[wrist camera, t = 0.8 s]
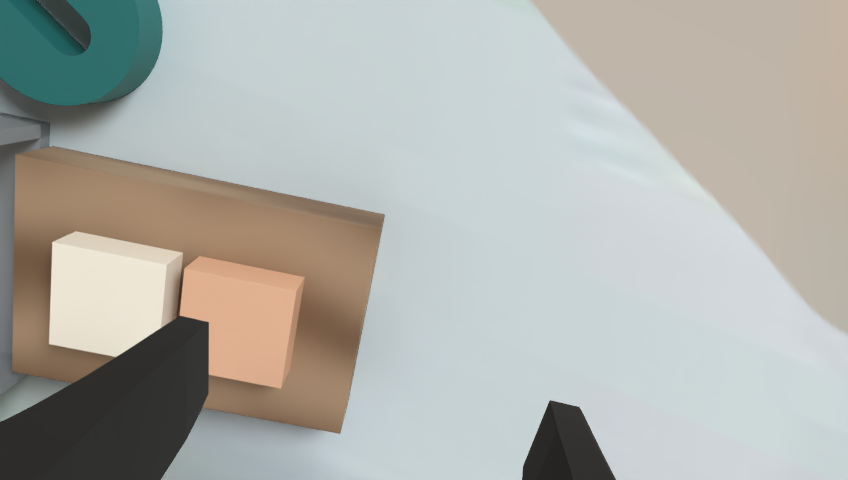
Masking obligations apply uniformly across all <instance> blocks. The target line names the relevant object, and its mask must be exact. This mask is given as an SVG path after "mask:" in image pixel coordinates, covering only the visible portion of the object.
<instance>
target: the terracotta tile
mask: <svg viewBox="0 0 848 480" xmlns="http://www.w3.org/2000/svg"><path fill="white" fill-rule="evenodd" d="M304 279H305V277H301V276H296V275H291V274H287V273H282V272H277V271H272V270H267V269H262V268H257V267H252V266H247V265H242V264H237V263H232V262H227V261H222V260H217V259H212V258H207V257H202V256H199V257H198V258H197V259H195V260H194V261H193V262H192V263H190V264H189V265H188V266H187V267H185V268H184V277H183V287H182V297H181V307H180V316H184V317H188V318H193V319H197V320H202V321H206V322H209V375H213V376H218V377H223V378H228V379H233V380H239V381H244V382H249V383H254V384H259V385H265V386H270V387H275V388H280V389H281V387H282V385H283V383H284V381H285V379H286V377H287V375H288V373H289V370H290V365H291V359H292V353H293V347H294V341H295V334H296V328H297V322H298V316H299V310H300V304H301V297H302V291H303V285H304Z"/></svg>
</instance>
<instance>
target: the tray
mask: <svg viewBox="0 0 848 480" xmlns="http://www.w3.org/2000/svg"><path fill="white" fill-rule="evenodd" d="M49 125H50V123H47V122H42V121H38V120H33V119H28V118H23V117H18V116H14V115H9V114H4V113H0V395H2V394H3V393H4V392H5V391H7V390H8V389H9V388H11V387H12V386H13V385H15V384H16V383H17V382H19V381H20V380H21V379H23V378H24V377H25V376H27V375H28V374H23V373H18V372H12V355H13V286H14V217H15V154H19V153H24V152H29V151H33V150H38V149H43V148H48V147H49Z"/></svg>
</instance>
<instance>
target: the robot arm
mask: <svg viewBox="0 0 848 480" xmlns="http://www.w3.org/2000/svg"><path fill="white" fill-rule="evenodd" d="M208 394H209V322H206V321H202V320H197V319H193V318H188V317H184V316H179V317H177V318H176V319H174V320H173V321H171V322H169V323H168V324H166V325H165V326H163V327H162V328H160V329H159V330H157V331H155V332H154V333H152V334H151V335H149V336H148V337H146V338H145V339H143V340H142V341H140V342H139V343H137V344H136V345H134V346H132V347H131V348H129V349H128V350H126V351H125V352H123V353H122V354H120V355H118V356H117V357H115V358H114V359H112V360H110V361H109V362H107V363H106V364H104V365H102V366H101V367H99V368H97V369H96V370H94V371H93V372H91V373H89V374H88V375H86V376H84V377H83V378H81V379H79V380H78V381H76V382H74V383H73V384H71V385H69V386H67V387H65V388H64V389H62V390H60V391H58V392H57V393H55V394H53V395H51V396H50V397H48V398H46V399H44V400H42V401H41V402H39V403H37V404H35V405H33V406H31V407H30V408H28V409H26V410H24V411H22V412H20V413H18V414H16V415H14V416H12V417H10V418H8V419H6V420H4V421H2V422H0V480H161V478H162V477H163V475H164V473H165V472H166V470H167V469H168V467H169V466H170V464H171V463H172V461H173V459H174V458H175V456H176V455H177V453H178V452H179V450H180V449H181V447H182V445H183V444H184V442H185V441H186V439H187V437H188V435H189V433H190V431H191V429H192V427H193V425H194V423H195V421H196V419H197V417H198V415H199V413H200V411H201V409H202V407H203V405H204V402H205V400H206V398H207V396H208ZM522 480H616V479H615V477H614V475H613V473H612V471H611V469H610V467H609V465H608V463H607V461H606V459H605V457H604V455H603V454H602V452H601V450H600V448H599V446H598V443H597V441H596V439H595V437H594V435H593V433H592V431H591V429H590V427H589V425H588V423H587V421H586V419H585V417H584V415H583V413H582V411H581V409H580V408H579V407H577V406H572V405H568V404H563V403H559V402H555V401H549V404H548V406H547V409H546V411H545V414H544V416H543V419H542V421H541V424H540V426H539V429H538V431H537V434H536V436H535V438H534V441H533V443H532V446H531V448H530V451H529V453H528V456H527V458H526V461H525V463H524V466H523V477H522Z"/></svg>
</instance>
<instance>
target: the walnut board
mask: <svg viewBox="0 0 848 480" xmlns="http://www.w3.org/2000/svg"><path fill="white" fill-rule="evenodd" d="M384 217H385V215H383V214H379V213H374V212H369V211H364V210H359V209H354V208H350V207H345V206H340V205H335V204H330V203H325V202H321V201H316V200H311V199H306V198H301V197H296V196H292V195H287V194H282V193H277V192H272V191H267V190H263V189H258V188H253V187H248V186H243V185H238V184H233V183H229V182H224V181H219V180H214V179H209V178H204V177H200V176H195V175H190V174H185V173H180V172H175V171H171V170H166V169H161V168H156V167H151V166H146V165H142V164H137V163H132V162H127V161H122V160H117V159H113V158H108V157H103V156H98V155H93V154H88V153H83V152H79V151H74V150H69V149H64V148H59V147H54V146H52V147H48V148H43V149H38V150H33V151H29V152H24V153H19V154H15V217H14V286H13V355H12V372H18V373H23V374H28V375H33V376H39V377H44V378H49V379H54V380H60V381H65V382H70V383H74V382H76V381H78V380H79V379H81V378H83V377H84V376H86V375H88V374H89V373H91V372H93V371H94V370H96V369H97V368H99V367H101V366H102V365H104V364H106V363H107V362H109V361H110V360H112V359H114V358H115V357H114V356H109V355H103V354H98V353H93V352H88V351H83V350H77V349H72V348H67V347H62V346H56V345H51V344H49V329H50V299H51V269H52V242H54V241H56V240H58V239H60V238H62V237H64V236H67V235H69V234H71V233H73V232H75V231H77V232H82V233H87V234H92V235H97V236H102V237H107V238H112V239H117V240H122V241H127V242H132V243H137V244H142V245H147V246H152V247H157V248H162V249H167V250H172V251H177V252H182V253H183V258H182V268H181V278H180V289H179V299H178V309H177V317H179V316H180V307H181V297H182V287H183V277H184V268H185V267H187V266H188V265H189V264H190V263H192V262H193V261H194V260H195V259H197V258H198V257H199V256H202V257H207V258H212V259H217V260H222V261H227V262H232V263H237V264H242V265H247V266H252V267H257V268H262V269H267V270H272V271H277V272H282V273H287V274H291V275H296V276H301V277H305V279H304V285H303V291H302V297H301V304H300V310H299V316H298V322H297V328H296V334H295V341H294V347H293V353H292V359H291V365H290V370H289V373H288V375H287V377H286V379H285V381H284V383H283V385H282V387H281V389H280V388H275V387H270V386H265V385H259V384H254V383H249V382H244V381H239V380H233V379H228V378H223V377H218V376H213V375H209V394H208V396H207V398H206V400H205V402H204V405H203V407H202V408H207V409H213V410H218V411H223V412H228V413H234V414H239V415H244V416H250V417H255V418H260V419H265V420H271V421H276V422H281V423H286V424H292V425H297V426H302V427H308V428H313V429H318V430H323V431H329V432H334V433H339V434H340V432H341V428H342V424H343V420H344V416H345V413H346V409H347V405H348V400H349V395H350V390H351V384H352V379H353V374H354V369H355V364H356V359H357V354H358V349H359V344H360V339H361V334H362V328H363V323H364V318H365V313H366V308H367V303H368V298H369V293H370V288H371V283H372V278H373V273H374V267H375V262H376V257H377V252H378V247H379V242H380V237H381V232H382V227H383V222H384Z"/></svg>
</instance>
